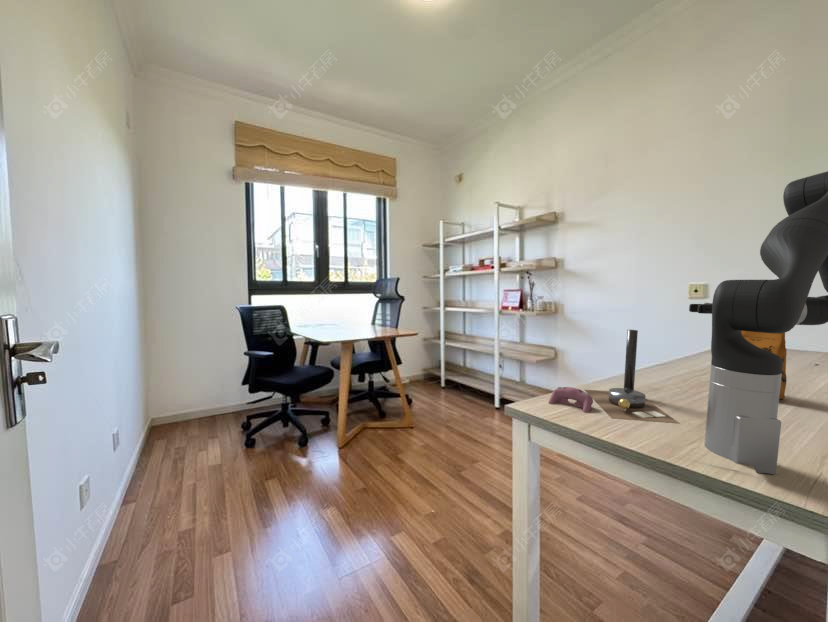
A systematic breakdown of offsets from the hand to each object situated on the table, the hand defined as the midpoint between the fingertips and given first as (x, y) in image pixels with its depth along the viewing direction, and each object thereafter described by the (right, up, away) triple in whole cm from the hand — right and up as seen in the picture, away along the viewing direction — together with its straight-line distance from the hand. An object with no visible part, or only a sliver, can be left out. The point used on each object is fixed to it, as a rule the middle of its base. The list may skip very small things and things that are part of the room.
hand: (694, 308), depth 90 cm
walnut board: (-20, -26, -2) cm, 33 cm away
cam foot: (-19, -24, -2) cm, 31 cm away
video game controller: (-34, -26, -3) cm, 43 cm away
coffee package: (+27, -26, +11) cm, 39 cm away
